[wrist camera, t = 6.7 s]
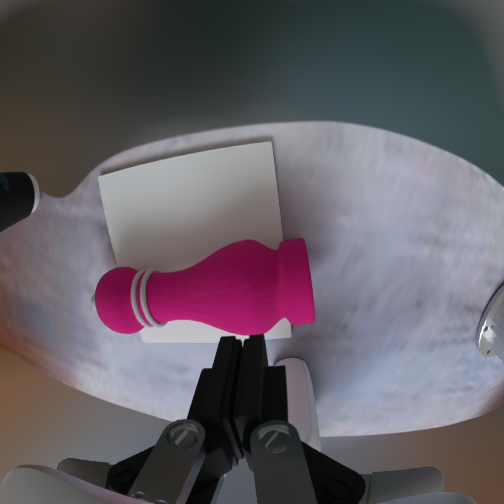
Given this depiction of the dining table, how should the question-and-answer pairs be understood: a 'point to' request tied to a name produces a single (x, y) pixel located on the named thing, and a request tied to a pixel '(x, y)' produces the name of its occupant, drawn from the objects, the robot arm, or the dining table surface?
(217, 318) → the pepper mill
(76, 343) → the dining table surface
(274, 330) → the mat
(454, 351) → the dining table surface
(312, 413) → the photo printer
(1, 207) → the dixie cup
